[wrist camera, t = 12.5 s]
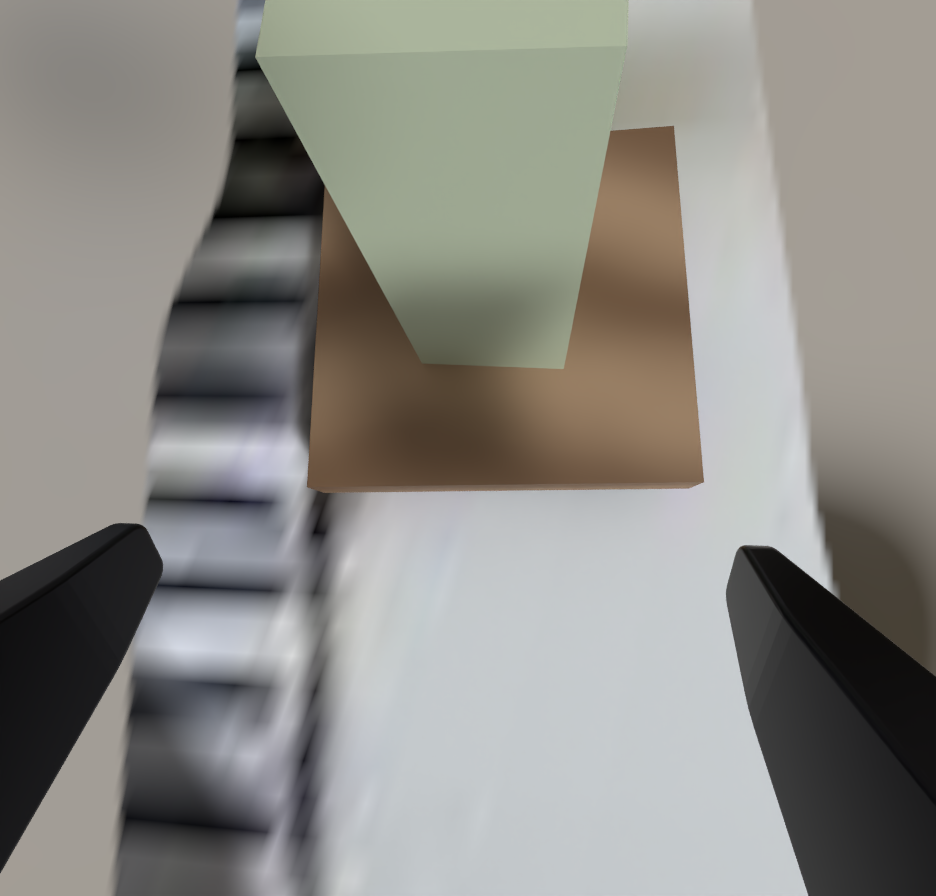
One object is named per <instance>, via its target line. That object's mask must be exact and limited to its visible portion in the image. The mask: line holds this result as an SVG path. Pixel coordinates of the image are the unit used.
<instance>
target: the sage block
mask: <svg viewBox="0 0 936 896" xmlns="http://www.w3.org/2000/svg"><path fill="white" fill-rule="evenodd" d="M627 34H628V0H265V6H264V12H263V17H262V23H261V28H260V34H259V39H258V45H257V51H256V56H255V57H256V59H257V61H258V63H259V65H260V67H261V68H262V70H263V72H264V74H265V76H266V78H267V80H268V81H269V83H270V85H271V87H272V89H273V91H274V92H275V94H276V96H277V98H278V100H279V102H280V103H281V105H282V107H283V109H284V111H285V113H286V114H287V116H288V118H289V120H290V122H291V124H292V125H293V127H294V129H295V131H296V133H297V135H298V136H299V138H300V140H301V142H302V144H303V146H304V148H305V149H306V151H307V153H308V155H309V157H310V159H311V160H312V162H313V164H314V166H315V168H316V170H317V171H318V173H319V175H320V177H321V179H322V181H323V182H324V184H325V186H326V188H327V190H328V192H329V193H330V195H331V197H332V199H333V201H334V203H335V204H336V206H337V208H338V210H339V212H340V214H341V216H342V217H343V219H344V221H345V223H346V225H347V227H348V228H349V230H350V232H351V234H352V236H353V238H354V239H355V241H356V243H357V245H358V247H359V249H360V250H361V252H362V254H363V256H364V258H365V260H366V261H367V263H368V265H369V267H370V269H371V271H372V272H373V274H374V276H375V278H376V280H377V282H378V283H379V285H380V287H381V289H382V291H383V293H384V295H385V296H386V298H387V300H388V302H389V304H390V306H391V307H392V309H393V311H394V313H395V315H396V317H397V318H398V320H399V322H400V324H401V326H402V328H403V329H404V331H405V333H406V335H407V337H408V339H409V340H410V342H411V344H412V346H413V348H414V350H415V351H416V353H417V355H418V357H419V359H420V361H421V363H422V364H446V365H472V366H497V367H523V368H548V369H564V365H565V360H566V355H567V350H568V344H569V339H570V334H571V329H572V324H573V319H574V314H575V309H576V304H577V299H578V294H579V288H580V283H581V278H582V273H583V268H584V263H585V258H586V253H587V248H588V243H589V238H590V232H591V227H592V222H593V217H594V212H595V207H596V202H597V197H598V192H599V187H600V182H601V176H602V171H603V166H604V161H605V156H606V151H607V146H608V141H609V136H610V131H611V126H612V120H613V115H614V110H615V105H616V100H617V95H618V90H619V85H620V80H621V75H622V70H623V64H624V59H625V54H626V49H627Z"/></svg>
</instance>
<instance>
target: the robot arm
mask: <svg viewBox="0 0 936 896" xmlns="http://www.w3.org/2000/svg"><path fill="white" fill-rule="evenodd" d="M162 572H163V562H162V559H161V557H160V555H159V553H158V551H157V549H156V547H155V545H154V543H153V541H152V539H151V537H150V535H149V533H148V531H147V529H146V528H145V527H144V526H142V525H140V524H130V523H118V524H113V525H110V526H108V527H106V528H104V529H102V530H100V531H98V532H96V533H94V534H92V535H90V536H88V537H86V538H84V539H82V540H80V541H78V542H76V543H74V544H72V545H70V546H68V547H66V548H64V549H62V550H60V551H59V552H56V553H54V554H52V555H50V556H48V557H46V558H44V559H43V560H41V561H39V562H36V563H34V564H33V565H30V566H28V567H26V568H24V569H23V570H20V571H18V572H17V573H15V574H12V575H11V576H9V577H6V578H5V579H3V580H1V581H0V873H1V871H2V869H3V868H4V866H5V864H6V862H7V861H8V859H9V857H10V855H11V854H12V852H13V850H14V849H15V846H16V845H17V843H18V842H19V840H20V838H21V836H22V835H23V833H24V831H25V830H26V828H27V826H28V824H29V822H30V821H31V819H32V817H33V816H34V814H35V812H36V810H37V809H38V807H39V805H40V804H41V802H42V800H43V798H44V797H45V795H46V793H47V791H48V790H49V788H50V786H51V784H52V783H53V781H54V779H55V777H56V776H57V774H58V772H59V771H60V769H61V767H62V765H63V764H64V762H65V760H66V758H67V757H68V755H69V753H70V751H71V750H72V748H73V746H74V744H75V743H76V741H77V739H78V738H79V736H80V734H81V732H82V731H83V729H84V727H85V726H86V724H87V722H88V720H89V719H90V717H91V715H92V713H93V712H94V710H95V708H96V707H97V705H98V703H99V701H100V700H101V698H102V696H103V694H104V693H105V691H106V689H107V687H108V686H109V684H110V682H111V680H112V679H113V677H114V675H115V673H116V672H117V670H118V668H119V666H120V664H121V662H122V660H123V658H124V656H125V654H126V652H127V650H128V648H129V646H130V644H131V641H132V639H133V637H134V635H135V633H136V631H137V628H138V626H139V624H140V622H141V620H142V617H143V615H144V613H145V611H146V609H147V607H148V604H149V602H150V600H151V598H152V596H153V594H154V591H155V589H156V587H157V585H158V583H159V580H160V578H161V576H162ZM726 601H727V607H728V612H729V617H730V622H731V627H732V632H733V637H734V642H735V647H736V652H737V657H738V662H739V667H740V672H741V676H742V681H743V686H744V691H745V696H746V700H747V705H748V709H749V712H750V716H751V719H752V722H753V726H754V729H755V732H756V735H757V738H758V741H759V745H760V748H761V751H762V754H763V757H764V760H765V763H766V766H767V769H768V772H769V775H770V778H771V782H772V785H773V788H774V791H775V794H776V797H777V800H778V803H779V806H780V809H781V812H782V816H783V819H784V822H785V825H786V828H787V831H788V834H789V837H790V840H791V843H792V846H793V849H794V853H795V856H796V859H797V862H798V865H799V868H800V871H801V874H802V877H803V880H804V883H805V887H806V890H807V893H808V896H936V676H934V675H933V674H932V673H931V672H930V671H928V670H927V669H926V668H925V667H923V666H922V665H921V664H920V663H918V662H917V661H916V660H914V659H913V658H912V657H911V656H909V655H908V654H907V653H906V652H904V651H903V650H902V649H901V648H899V647H898V646H897V645H896V644H894V643H893V642H892V641H891V640H889V639H888V638H887V637H886V636H884V635H883V634H882V633H881V632H879V631H878V630H877V629H876V628H874V627H873V626H872V625H871V624H869V623H868V622H867V621H866V620H864V619H863V618H862V617H861V616H859V615H858V614H857V613H856V612H854V611H853V610H852V609H850V608H849V607H848V606H847V605H845V604H844V603H843V602H842V601H841V600H839V599H838V598H837V597H835V596H834V595H833V594H832V593H830V592H829V591H828V590H827V589H825V588H824V587H823V586H822V585H820V584H819V583H818V582H817V581H815V580H814V579H813V578H812V577H810V576H809V575H808V574H807V573H805V572H804V571H803V570H802V569H800V568H799V567H798V566H797V565H795V564H794V563H793V562H792V561H790V560H789V559H788V558H787V557H785V556H784V555H783V554H782V553H780V552H779V551H778V550H776V549H775V548H773V547H770V546H752V545H744V546H741V547H740V548H739V549H738V550H737V552H736V555H735V559H734V562H733V566H732V569H731V573H730V577H729V580H728V584H727V588H726Z"/></svg>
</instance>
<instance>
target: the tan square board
mask: <svg viewBox="0 0 936 896" xmlns="http://www.w3.org/2000/svg"><path fill="white" fill-rule="evenodd" d="M703 482H704V478H703V466H702V455H701V443H700V431H699V419H698V407H697V395H696V384H695V372H694V360H693V348H692V336H691V324H690V313H689V301H688V289H687V277H686V265H685V254H684V242H683V230H682V218H681V206H680V194H679V183H678V171H677V159H676V147H675V135H674V126H667V127H654V128H642V129H629V130H616V131H610V136H609V141H608V146H607V151H606V156H605V161H604V166H603V171H602V176H601V182H600V187H599V192H598V197H597V202H596V207H595V212H594V217H593V222H592V227H591V232H590V238H589V243H588V248H587V253H586V258H585V263H584V268H583V273H582V278H581V283H580V288H579V294H578V299H577V304H576V309H575V314H574V319H573V324H572V329H571V334H570V339H569V344H568V350H567V355H566V360H565V365H564V369H548V368H523V367H497V366H472V365H446V364H422V363H421V361H420V359H419V357H418V355H417V353H416V351H415V350H414V348H413V346H412V344H411V342H410V340H409V339H408V337H407V335H406V333H405V331H404V329H403V328H402V326H401V324H400V322H399V320H398V318H397V317H396V315H395V313H394V311H393V309H392V307H391V306H390V304H389V302H388V300H387V298H386V296H385V295H384V293H383V291H382V289H381V287H380V285H379V283H378V282H377V280H376V278H375V276H374V274H373V272H372V271H371V269H370V267H369V265H368V263H367V261H366V260H365V258H364V256H363V254H362V252H361V250H360V249H359V247H358V245H357V243H356V241H355V239H354V238H353V236H352V234H351V232H350V230H349V228H348V227H347V225H346V223H345V221H344V219H343V217H342V216H341V214H340V212H339V210H338V208H337V206H336V204H335V203H334V201H333V199H332V197H331V195H330V193H329V192H328V190H327V188H326V186H325V192H324V209H323V226H322V242H321V259H320V276H319V293H318V310H317V327H316V344H315V361H314V378H313V395H312V412H311V429H310V446H309V463H308V480H307V487H308V488H311V489H314V490H318V491H321V492H324V493H336V492H422V491H507V490H593V489H679V488H691V487H693V486H696V485H698V484H701V483H703Z"/></svg>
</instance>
